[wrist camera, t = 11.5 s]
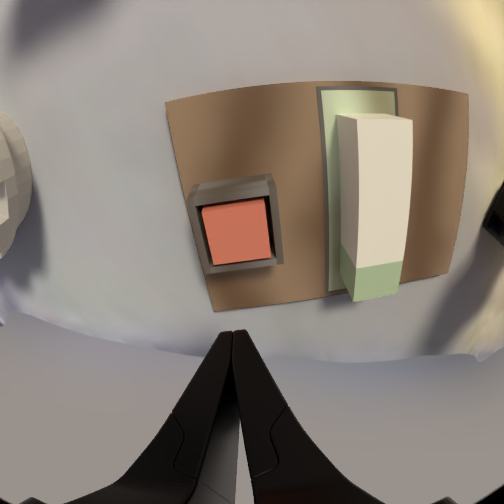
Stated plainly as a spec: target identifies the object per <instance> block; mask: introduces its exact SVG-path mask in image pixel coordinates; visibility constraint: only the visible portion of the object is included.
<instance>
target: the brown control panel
mask: <svg viewBox="0 0 504 504" xmlns="http://www.w3.org/2000/svg"><path fill="white" fill-rule="evenodd" d="M165 105H166V111H167V116H168V121H169V127H170V132H171V137H172V142H173V146H174V151H175V156H176V161H177V165H178V170H179V174H180V179H181V183H182V188H183V192H184V197H185V201H186V205H187V209H188V213H189V218H190V222H191V226H192V230H193V234H194V238H195V242H196V246H197V249H198V253H199V257H200V261H201V265H202V268H203V272H204V276H205V279H206V283H207V287H208V290H209V294H210V297H211V301H212V304H213V308H214V311H224V310H232V309H241V308H249V307H257V306H265V305H273V304H280V303H287V302H294V301H301V300H308V299H314V298H321V297H327V296H333V295H339V294H345V293H349V292H348V290H347V288H346V286H345V284H344V282H343V279H342V277H341V275H340V246H341V198H340V166H339V146H338V131H337V118H336V114H389V115H393V116H398V117H402V118H406V119H410V120H412V121H413V158H412V182H411V197H410V209H409V219H408V228H407V236H406V244H405V251H404V257H403V264H402V270H401V275H400V281H399V283H404V282H409V281H414V280H419V279H423V278H428V277H432V276H437V275H441V274H446V273H448V270H449V267H450V263H451V259H452V254H453V250H454V246H455V241H456V236H457V231H458V226H459V221H460V215H461V209H462V203H463V195H464V188H465V179H466V169H467V157H468V138H469V98H468V94H466V93H461V92H456V91H450V90H445V89H438V88H432V87H424V86H416V85H407V84H396V83H383V82H362V81H316V82H295V83H281V84H270V85H261V86H252V87H244V88H237V89H230V90H224V91H218V92H212V93H207V94H201V95H196V96H191V97H187V98H182V99H178V100H173V101H169V102H165ZM259 196H263V198H264V203H265V211H266V219H267V227H268V235H269V244H270V252H271V257H270V258H263V259H255V260H248V261H240V262H233V263H225V264H217V265H214V264H213V259H212V255H211V251H210V247H209V243H208V238H207V234H206V230H205V225H204V221H203V216H202V209H203V206H204V205H205V204H211V203H218V202H224V201H231V200H238V199H245V198H252V197H259Z"/></svg>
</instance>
